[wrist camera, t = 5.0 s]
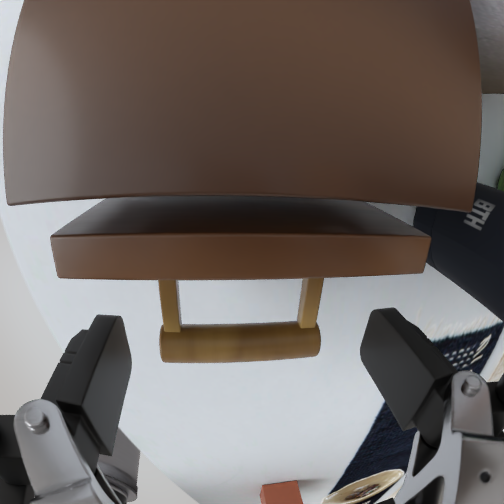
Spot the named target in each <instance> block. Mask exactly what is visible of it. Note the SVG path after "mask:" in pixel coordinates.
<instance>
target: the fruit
mask: <svg viewBox="0 0 504 504" xmlns="http://www.w3.org/2000/svg"><path fill="white" fill-rule="evenodd" d="M497 189H498V190H501V191H504V169H503V171H502V173H501V176H500V179H499V182H498V188H497Z"/></svg>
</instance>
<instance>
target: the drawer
mask: <svg viewBox="0 0 504 504" xmlns="http://www.w3.org/2000/svg"><path fill="white" fill-rule="evenodd" d="M50 240H51V246H52V251H53V257H54V262H55V267H56V271H57V276H58V278H68V279H108V280H158V282H159V292H160V301H161V309H162V317H163V325H162V326H161V329H160V338H159V345H160V355H161V358H162V361H163V362H165V363H227V362H252V361H269V360H283V359H294V358H305V357H314V356H317V355H318V353H319V351H320V345H321V336H320V330H319V327H318V324H317V322H316V320H317V315H318V310H319V304H320V298H321V293H322V287H323V281H324V278H332V277H358V276H380V275H399V274H417V273H423V271H424V268H425V264H426V260H427V256H428V252H429V248H430V243H431V237H430V236H429V235H427V234H425V233H423V232H422V231H420V230H418V229H416V228H414V227H412V226H411V225H409V224H407V223H405V222H403V221H401V220H399V219H397V218H395V217H393V216H392V215H390V214H388V213H386V212H384V211H382V210H380V209H378V208H376V207H374V206H372V205H370V204H368V203H365V202H363V201H349V200H333V199H315V198H294V197H265V196H151V197H122V198H106V199H105V200H103V201H102V202H100V203H98V204H97V205H95V206H94V207H92V208H91V209H89V210H88V211H86V212H85V213H83V214H82V215H80V216H79V217H77V218H76V219H74V220H73V221H71V222H70V223H68V224H67V225H65V226H64V227H63V228H61V229H60V230H58V231H57V232H55V233H54V234H53V235H51V237H50ZM301 278H303V281H302V288H301V296H300V303H299V310H298V316H297V321H290V322H271V323H246V324H182V321H181V311H180V299H179V286H178V280H257V279H301Z"/></svg>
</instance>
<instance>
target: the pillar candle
mask: <svg viewBox="0 0 504 504" xmlns="http://www.w3.org/2000/svg"><path fill="white" fill-rule="evenodd" d="M470 3H471V7H472V12H473V17H474V23H475V28H476V35H477V42H478V50H479V59H480V71H481V89H482V94H492V93H493V94H504V0H470Z"/></svg>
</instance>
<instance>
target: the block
mask: <svg viewBox="0 0 504 504" xmlns="http://www.w3.org/2000/svg"><path fill="white" fill-rule="evenodd" d="M260 498H261V504H303V502H302V498H301V494H300V491H299V487H298V483H297V480H296V481H290V482H283V483H276V484H267V485H262V489H261V493H260Z"/></svg>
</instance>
